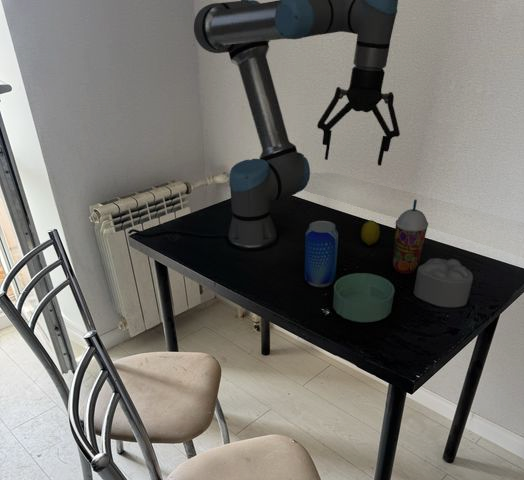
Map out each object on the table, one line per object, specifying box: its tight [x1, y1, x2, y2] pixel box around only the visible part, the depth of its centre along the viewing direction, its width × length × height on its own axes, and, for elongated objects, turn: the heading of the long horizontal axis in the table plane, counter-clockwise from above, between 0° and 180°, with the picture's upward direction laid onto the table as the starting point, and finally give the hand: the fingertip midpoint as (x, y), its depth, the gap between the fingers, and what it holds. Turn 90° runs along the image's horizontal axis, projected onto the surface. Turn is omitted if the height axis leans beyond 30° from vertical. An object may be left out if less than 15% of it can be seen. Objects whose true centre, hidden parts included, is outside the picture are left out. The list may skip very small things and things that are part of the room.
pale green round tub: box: [332, 272, 396, 323], centre depth 125 cm, size 15×15×6 cm
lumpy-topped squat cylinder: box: [413, 257, 474, 308], centre depth 127 cm, size 10×13×9 cm
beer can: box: [304, 220, 339, 288], centre depth 132 cm, size 8×8×16 cm
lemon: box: [360, 219, 381, 246], centre depth 150 cm, size 6×6×8 cm
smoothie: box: [392, 199, 429, 275], centre depth 134 cm, size 8×8×20 cm
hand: (352, 161), depth 129 cm, fingers open, 13 cm apart
